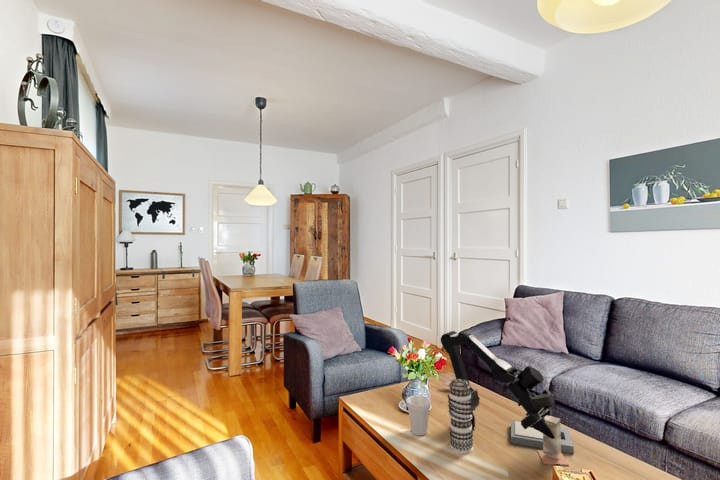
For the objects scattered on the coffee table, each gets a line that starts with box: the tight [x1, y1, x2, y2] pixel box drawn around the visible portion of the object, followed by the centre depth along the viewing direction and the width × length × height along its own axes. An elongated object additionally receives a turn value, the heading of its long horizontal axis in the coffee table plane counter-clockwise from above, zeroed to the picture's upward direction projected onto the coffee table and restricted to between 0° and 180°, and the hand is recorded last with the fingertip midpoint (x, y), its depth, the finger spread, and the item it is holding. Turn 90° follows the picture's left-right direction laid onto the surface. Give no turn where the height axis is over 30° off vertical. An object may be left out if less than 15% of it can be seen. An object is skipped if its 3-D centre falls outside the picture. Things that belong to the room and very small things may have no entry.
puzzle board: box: [510, 419, 575, 454], centre depth 145 cm, size 21×14×3 cm, turn 68°
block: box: [542, 415, 562, 458], centre depth 132 cm, size 4×4×12 cm
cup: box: [405, 395, 432, 436], centre depth 152 cm, size 10×10×13 cm
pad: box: [536, 449, 570, 466], centre depth 132 cm, size 8×8×1 cm
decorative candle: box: [447, 378, 474, 455], centre depth 141 cm, size 9×9×25 cm
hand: (555, 435), depth 131 cm, fingers closed on block, 4 cm apart
